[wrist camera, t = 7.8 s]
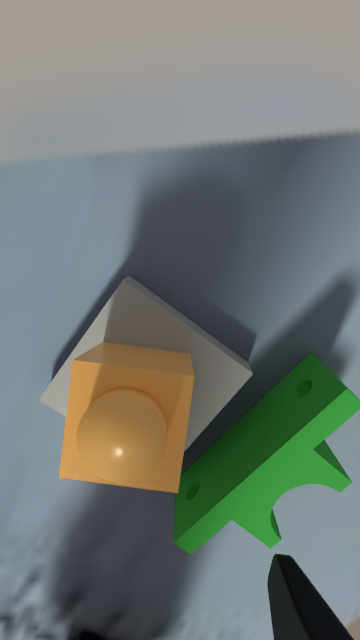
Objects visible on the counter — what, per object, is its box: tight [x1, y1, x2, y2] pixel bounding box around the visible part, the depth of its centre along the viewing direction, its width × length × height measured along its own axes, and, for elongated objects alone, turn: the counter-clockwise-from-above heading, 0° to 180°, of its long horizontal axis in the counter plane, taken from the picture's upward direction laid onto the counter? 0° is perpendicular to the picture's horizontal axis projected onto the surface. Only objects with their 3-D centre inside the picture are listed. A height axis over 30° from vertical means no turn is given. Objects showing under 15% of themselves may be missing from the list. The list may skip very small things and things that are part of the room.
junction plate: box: [39, 275, 253, 452], centre depth 16 cm, size 9×8×5 cm
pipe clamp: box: [174, 352, 360, 555], centre depth 18 cm, size 11×4×5 cm, turn 139°
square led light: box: [59, 342, 195, 493], centre depth 14 cm, size 4×4×6 cm
